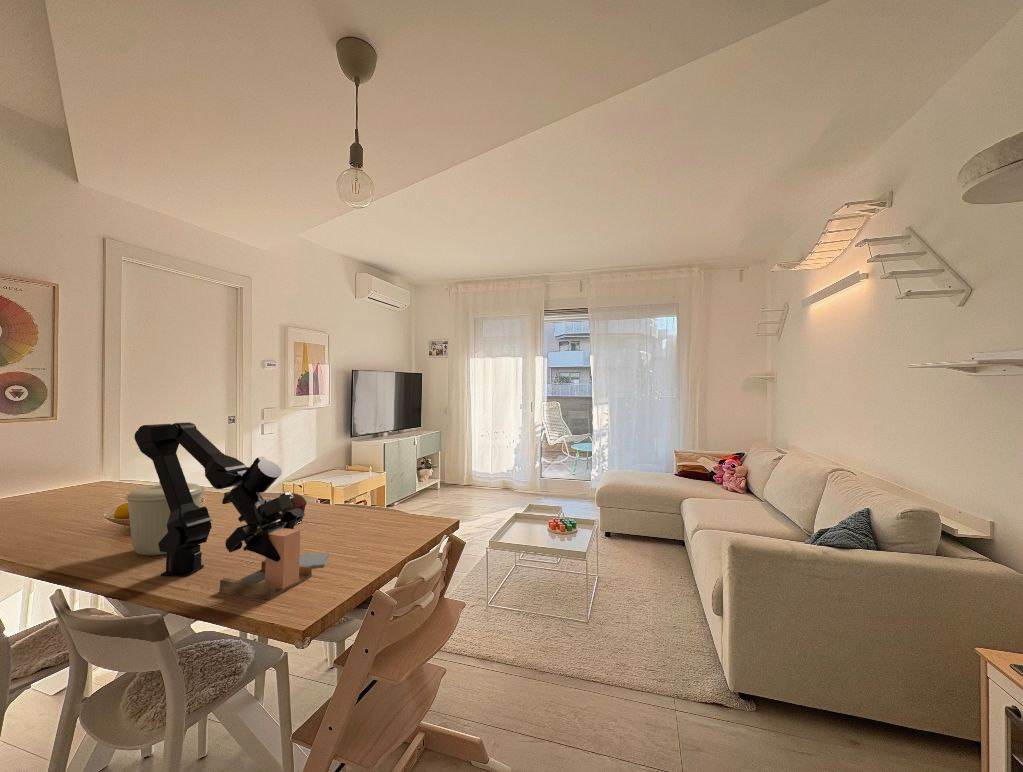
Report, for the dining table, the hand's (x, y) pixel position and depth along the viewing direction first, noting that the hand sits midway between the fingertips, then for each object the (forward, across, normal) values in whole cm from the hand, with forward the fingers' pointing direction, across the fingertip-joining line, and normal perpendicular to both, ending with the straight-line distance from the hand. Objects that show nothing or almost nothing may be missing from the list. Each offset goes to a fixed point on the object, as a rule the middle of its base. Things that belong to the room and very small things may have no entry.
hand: (287, 556), depth 101 cm
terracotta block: (+4, 0, +6) cm, 7 cm away
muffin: (-22, +42, +32) cm, 57 cm away
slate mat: (+1, +14, +9) cm, 17 cm away
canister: (-31, +10, +42) cm, 53 cm away
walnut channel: (+1, 0, +9) cm, 9 cm away
